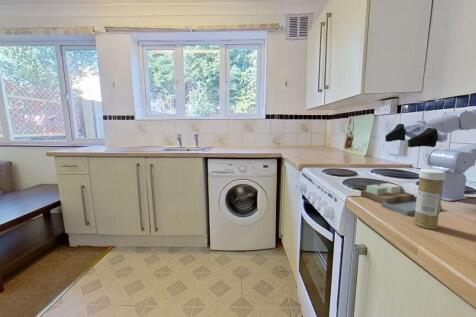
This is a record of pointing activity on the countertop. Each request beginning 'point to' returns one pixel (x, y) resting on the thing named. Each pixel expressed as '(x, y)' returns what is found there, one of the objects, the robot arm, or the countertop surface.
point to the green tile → (376, 189)
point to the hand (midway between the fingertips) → (397, 141)
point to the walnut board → (388, 197)
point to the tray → (403, 207)
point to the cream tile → (391, 187)
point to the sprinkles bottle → (429, 198)
